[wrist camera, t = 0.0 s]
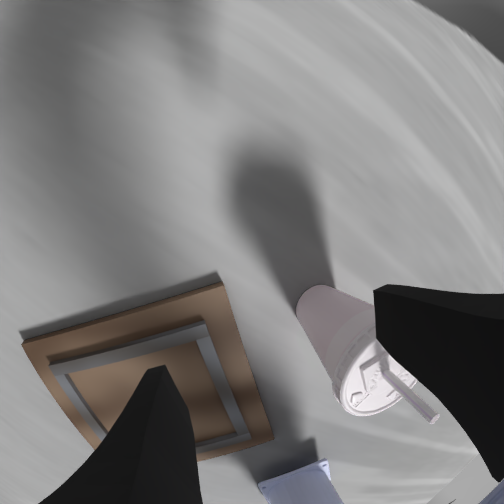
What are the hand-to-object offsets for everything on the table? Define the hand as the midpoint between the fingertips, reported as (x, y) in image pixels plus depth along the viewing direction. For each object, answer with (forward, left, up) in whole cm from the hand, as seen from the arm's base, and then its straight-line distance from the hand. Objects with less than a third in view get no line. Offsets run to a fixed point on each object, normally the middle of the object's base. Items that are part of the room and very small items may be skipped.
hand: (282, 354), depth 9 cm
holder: (-10, +9, -12) cm, 18 cm away
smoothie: (-6, -6, -12) cm, 15 cm away
